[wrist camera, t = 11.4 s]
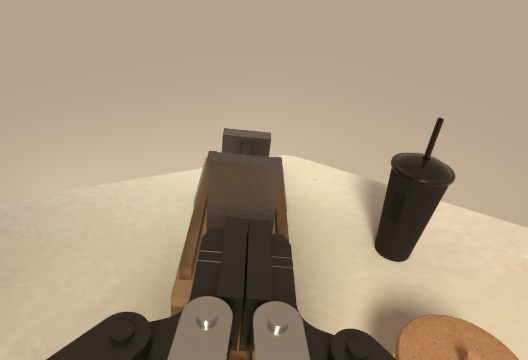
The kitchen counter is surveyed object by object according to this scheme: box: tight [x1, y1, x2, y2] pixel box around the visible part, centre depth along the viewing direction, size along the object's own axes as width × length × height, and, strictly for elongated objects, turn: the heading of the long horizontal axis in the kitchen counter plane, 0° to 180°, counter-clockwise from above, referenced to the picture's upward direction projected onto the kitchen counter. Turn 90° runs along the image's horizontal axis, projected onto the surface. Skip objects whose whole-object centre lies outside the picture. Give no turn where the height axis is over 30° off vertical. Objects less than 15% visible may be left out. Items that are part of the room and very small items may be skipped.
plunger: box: [206, 128, 282, 234], centre depth 41 cm, size 6×18×9 cm, turn 0°
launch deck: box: [171, 151, 289, 360], centre depth 43 cm, size 10×24×12 cm, turn 0°
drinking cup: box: [375, 118, 455, 262], centre depth 49 cm, size 8×8×20 cm
